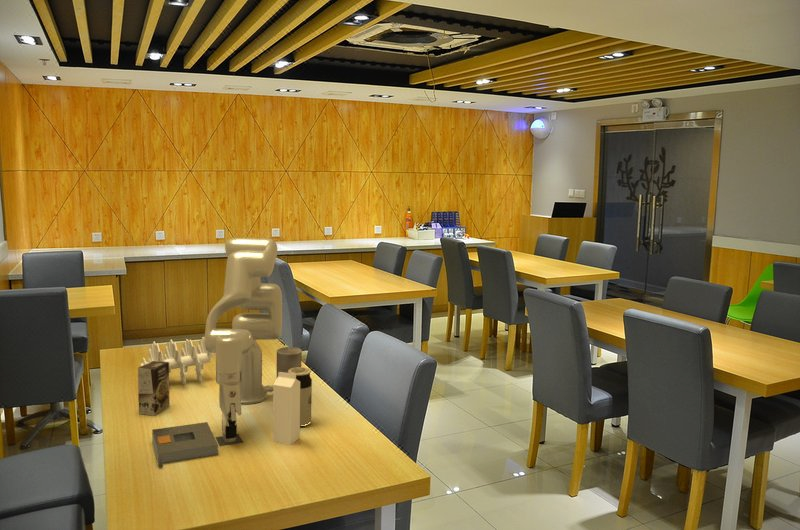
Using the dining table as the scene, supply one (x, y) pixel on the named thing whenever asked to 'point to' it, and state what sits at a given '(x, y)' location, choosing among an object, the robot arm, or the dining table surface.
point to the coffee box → (153, 387)
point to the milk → (286, 408)
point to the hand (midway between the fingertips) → (229, 433)
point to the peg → (225, 431)
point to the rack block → (183, 443)
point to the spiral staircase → (181, 357)
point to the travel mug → (304, 393)
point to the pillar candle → (288, 359)
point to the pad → (238, 440)
